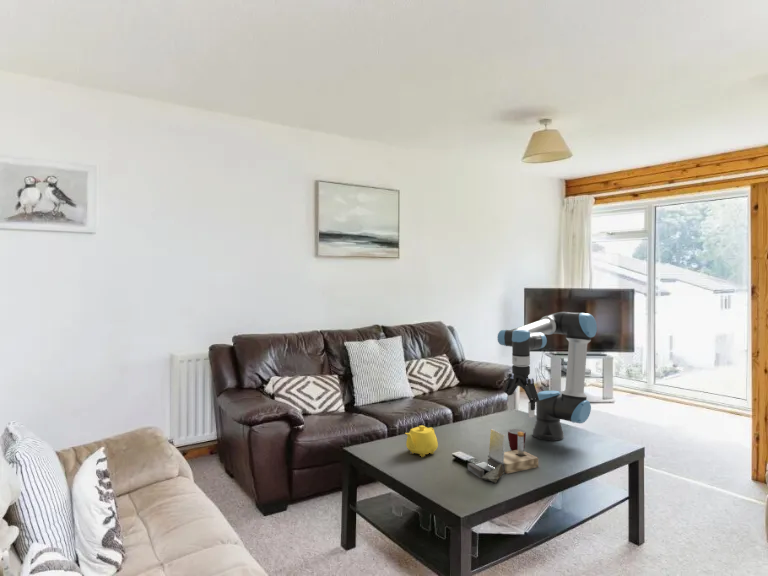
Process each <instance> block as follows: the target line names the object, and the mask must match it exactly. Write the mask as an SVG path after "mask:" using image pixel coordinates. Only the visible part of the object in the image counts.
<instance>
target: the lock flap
mask: <svg viewBox="0 0 768 576" xmlns="http://www.w3.org/2000/svg"><path fill="white" fill-rule="evenodd" d="M505 445H506V434H504V433H502V432H499V431H497V430H496V429H494V428H491V429H490V436H489V449H488V455H487V457H488V459H489V458H490V459H492V460H494V461H496V462H498V463H500V464H502V465H504V464H505V463H504V452H505V447H506V446H505Z"/></svg>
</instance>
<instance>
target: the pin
mask: <svg viewBox="0 0 768 576" xmlns="http://www.w3.org/2000/svg"><path fill="white" fill-rule="evenodd" d="M524 445H525V444H524V432H518V456H519V457H523V456H524V450H525V448H524Z"/></svg>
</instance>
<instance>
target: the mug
mask: <svg viewBox="0 0 768 576" xmlns="http://www.w3.org/2000/svg"><path fill="white" fill-rule="evenodd" d="M518 432H524V449H525V445H526V444H525V443H526V440H527V439H526V438H527V437H526V436H527V435H526V433H527V431H525V430H524V429H520V428H510V429H508V430H507V438H508V444H509V448H510V451H513V450H518Z"/></svg>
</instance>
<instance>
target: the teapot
mask: <svg viewBox="0 0 768 576" xmlns="http://www.w3.org/2000/svg"><path fill="white" fill-rule="evenodd" d="M404 434H406V436H407V437H406V443H405V446H406V448H407V449H408V451H410V452H412V453H415V454H416V455H417V454H418V455H419V457H420V456H421V457H420V458H425V457H426V455H428V454H429V453H430V455H433V454H435V452H436V450H438V447H439V443H438V438H437V436H436V433H435V429H434V428H433V427H427V426H425V425H418V426H416V427H413V428H410V430H409V432H405V433H404ZM424 456H425V457H424Z"/></svg>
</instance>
